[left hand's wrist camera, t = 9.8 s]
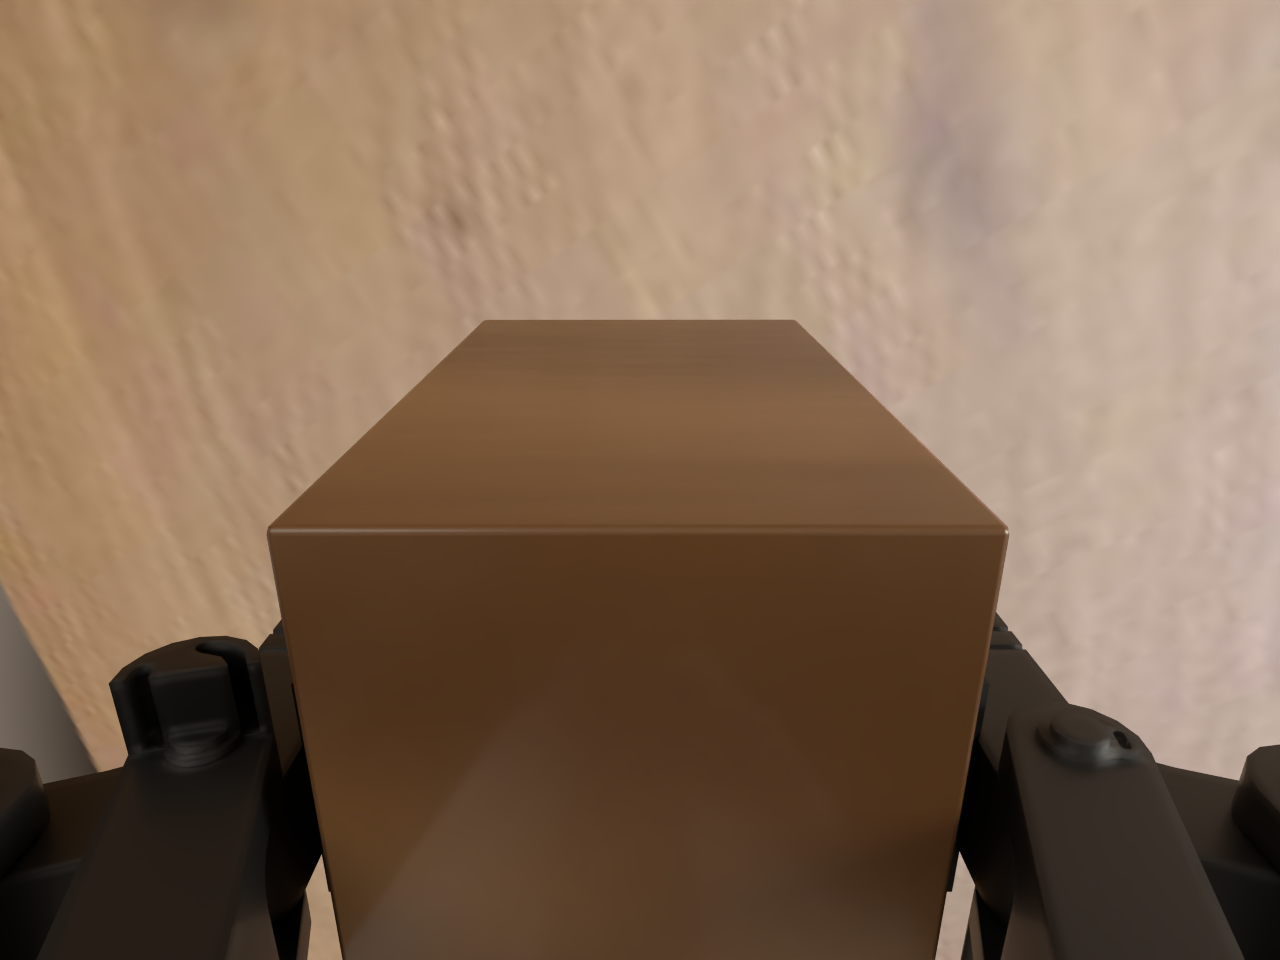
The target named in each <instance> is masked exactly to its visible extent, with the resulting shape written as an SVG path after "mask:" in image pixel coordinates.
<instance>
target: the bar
mask: <svg viewBox="0 0 1280 960" xmlns="http://www.w3.org/2000/svg"><path fill="white" fill-rule="evenodd" d="M267 539H268V545H269V551H270V556H271V562H272V567H273V573H274V579H275V584H276V590H277V595H278V601H279V606H280V612H281V618H282V623H283V629H284V634H285V640H286V646H287V651H288V657H289V662H290V668H291V674H292V679H293V685H294V690H295V696H296V701H297V707H298V713H299V718H300V724H301V729H302V735H303V741H304V746H305V752H306V757H307V763H308V769H309V774H310V780H311V785H312V791H313V797H314V802H315V808H316V813H317V819H318V824H319V830H320V836H321V841H322V847H323V852H324V858H325V864H326V869H327V875H328V880H329V886H330V892H331V897H332V903H333V908H334V914H335V919H336V925H337V931H338V936H339V942H340V947H341V953H342V959H343V960H935V956H936V951H937V945H938V939H939V933H940V928H941V922H942V916H943V911H944V905H945V899H946V893H947V888H948V882H949V876H950V870H951V865H952V859H953V853H954V848H955V842H956V836H957V830H958V825H959V819H960V813H961V808H962V802H963V796H964V790H965V785H966V779H967V773H968V767H969V762H970V756H971V750H972V745H973V739H974V733H975V727H976V722H977V716H978V710H979V705H980V699H981V693H982V687H983V682H984V676H985V670H986V665H987V659H988V653H989V647H990V642H991V636H992V630H993V624H994V619H995V613H996V607H997V602H998V596H999V590H1000V584H1001V579H1002V573H1003V567H1004V562H1005V556H1006V550H1007V544H1008V539H1009V530H1008V527H1007V526H1006V525H1005V524H1004V523H1003V522H1002V521H1001V520H1000V519H999V518H998V517H997V516H996V515H995V514H994V513H993V512H992V511H991V510H990V509H989V508H988V507H987V506H986V505H985V504H984V503H983V502H982V501H981V500H980V499H979V498H978V497H977V496H976V495H975V494H974V493H972V492H971V491H970V490H969V489H968V488H967V487H966V486H965V485H964V484H963V483H962V482H961V481H960V480H959V479H958V478H957V477H956V476H955V475H954V474H953V473H952V472H951V471H950V470H949V469H948V468H947V467H946V466H945V465H944V464H943V463H942V462H941V461H940V460H939V459H938V458H937V457H936V456H934V455H933V454H932V453H931V452H930V451H929V450H928V449H927V448H926V447H925V446H924V445H923V444H922V443H921V442H920V441H919V440H918V439H917V438H916V437H915V436H914V435H913V434H912V433H911V432H910V431H909V430H908V429H907V428H906V427H905V426H904V425H903V424H902V423H901V422H900V421H899V420H897V419H896V418H895V417H894V416H893V415H892V414H891V413H890V412H889V411H888V410H887V409H886V408H885V407H884V406H883V405H882V404H881V403H880V402H879V401H878V400H877V399H876V398H875V397H874V396H873V395H872V394H871V393H870V392H869V391H868V390H867V389H866V388H865V387H864V386H863V385H862V384H861V383H859V382H858V381H857V380H856V379H855V378H854V377H853V376H852V375H851V374H850V373H849V372H848V371H847V370H846V369H845V368H844V367H843V366H842V365H841V364H840V363H839V362H838V361H837V360H836V359H835V358H834V357H833V356H832V355H831V354H830V353H829V352H828V351H827V350H826V349H825V348H824V347H823V346H821V345H820V344H819V343H818V342H817V341H816V340H815V339H814V338H813V337H812V336H811V335H810V334H809V333H808V332H807V331H806V330H805V329H804V328H803V327H802V326H801V325H800V324H799V323H798V322H797V321H795V320H485V321H483V322H482V323H481V324H480V325H479V326H478V327H477V328H476V329H475V330H474V331H473V332H472V333H471V334H470V335H469V336H467V337H466V338H465V339H464V340H463V341H462V342H461V343H460V344H459V345H458V346H457V347H456V348H455V349H454V350H453V351H452V352H451V353H450V354H449V355H448V356H447V357H446V358H444V359H443V360H442V361H441V362H440V363H439V364H438V365H437V366H436V367H435V368H434V369H433V370H432V371H431V372H430V373H429V374H428V375H427V376H426V377H425V378H424V379H422V380H421V381H420V382H419V383H418V384H417V385H416V386H415V387H414V388H413V389H412V390H411V391H410V392H409V393H408V394H407V395H406V396H405V397H404V398H403V399H402V400H401V401H399V402H398V403H397V404H396V405H395V406H394V407H393V408H392V409H391V410H390V411H389V412H388V413H387V414H386V415H385V416H384V417H383V418H382V419H381V420H380V421H379V422H377V423H376V424H375V425H374V426H373V427H372V428H371V429H370V430H369V431H368V432H367V433H366V434H365V435H364V436H363V437H362V438H361V439H360V440H359V441H358V442H357V443H356V444H354V445H353V446H352V447H351V448H350V449H349V450H348V451H347V452H346V453H345V454H344V455H343V456H342V457H341V458H340V459H339V460H338V461H337V462H336V463H335V464H334V465H332V466H331V467H330V468H329V469H328V470H327V471H326V472H325V473H324V474H323V475H322V476H321V477H320V478H319V479H318V480H317V481H316V482H315V483H314V484H313V485H312V486H311V487H309V488H308V489H307V490H306V491H305V492H304V493H303V494H302V495H301V496H300V497H299V498H298V499H297V500H296V501H295V502H294V503H293V504H292V505H291V506H290V507H289V508H287V509H286V510H285V511H284V512H283V513H282V514H281V515H280V516H279V517H278V518H277V519H276V520H275V521H274V522H273V523H272V524H271V525H270V526H269V527H268V530H267Z"/></svg>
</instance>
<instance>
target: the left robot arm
mask: <svg viewBox="0 0 1280 960" xmlns="http://www.w3.org/2000/svg"><path fill="white" fill-rule="evenodd" d="M109 686H110V690H111V693H112V697H113V701H114V704H115V708H116V711H117V715H118V719H119V722H120V726H121V729H122V733H123V737H124V740H125V744H126V747H127V751H128V757H127V759H126V761H125V764H124V766H123V767H120V768H116V769H112V770H109V771H104V772H99V773H94V774H90V775H85V776H80V777H75V778H70V779H66V780H61V781H56V782H51V783H46V784H43V783H42V780H41V777H40V774H39V772H38V768H37V765H36V762H35V760H34V759H33V758H31V757H30V756H29V755H27V754H26V753H25V752H23V751H21V750H13V749H5V748H0V960H307V956H308V947H309V938H310V929H311V918H310V911H309V905H308V900H307V894H306V887H307V885H308V882H309V880H310V878H311V876H312V874H313V872H314V869H315V867H316V865H317V863H318V861H319V859H320V856H321V854H322V857H323V863H324V868H325V874H326V879H327V885H328V890H329V892H330V886H329V880H328V875H327V869H326V864H325V858H324V852H323V847H322V841H321V836H320V830H319V824H318V819H317V813H316V808H315V802H314V797H313V791H312V785H311V780H310V774H309V769H308V763H307V757H306V752H305V746H304V741H303V735H302V729H301V724H300V718H299V713H298V707H297V701H296V696H295V690H294V685H293V679H292V674H291V668H290V662H289V657H288V651H287V646H286V640H285V634H284V629H283V623H282V619H281V621H280V622H279V623H278V625H277V626H276V627H275V628H274V630H273V634H270V635H269V636H268V637H267V639H266V640H265V641H264V642H263V644H262V645H261V646H260V647H259V649H258V648H256V647H255V646H254V645H252V644H251V643H250V642H248V641H247V640H243V639H239V638H234V637H229V636H213V637H198V638H194V639H189V640H185V641H180V642H175V643H172V644H169V645H166V646H164V647H161V648H159V649H156V650H154V651H151V652H149V653H146V654H144V655H143V656H141V657H139V658H138V659H136V660H135V661H133V662H131V663H130V664H128V665H127V666H125V667H123V668H122V669H121V670H120V672H119V673H118V674H117V675H116V676H115V677H114V678H113V679H112V681H111V682H110V683H109ZM959 851H960V853H961V855H962V858H963V860H964V862H965V864H966V866H967V868H968V870H969V873H970V875H971V877H972V879H973V881H974V883H975V889H974V894H973V900H972V905H971V910H970V915H969V920H968V925H967V930H966V935H965V940H964V945H963V951H962V956H961V960H1280V745H1273V746H1265V747H1259V748H1258V749H1257V750H1255V751H1254V752H1253V753H1251V754H1250V755H1248V756H1247V759H1246V762H1245V765H1244V768H1243V771H1242V774H1241V777H1240V780H1239V781H1237V780H1233V779H1228V778H1223V777H1218V776H1213V775H1208V774H1203V773H1199V772H1194V771H1189V770H1184V769H1179V768H1174V767H1171V766H1167V765H1163V764H1159V763H1156V762H1155V760H1154V758H1153V755H1152V753H1151V752H1150V751H1149V749H1148V748H1147V747H1146V746H1145V744H1144V743H1143V742H1142V740H1141V739H1140V738H1139V736H1137V735H1136V734H1135V733H1133V732H1132V731H1130V730H1129V729H1128V728H1126V727H1125V726H1124V725H1122V724H1121V723H1119V722H1118V721H1116V720H1114V719H1112V718H1110V717H1107V716H1105V715H1103V714H1101V713H1098V712H1096V711H1094V710H1092V709H1088V708H1084V707H1080V706H1076V705H1072V704H1069V703H1068V702H1067V701H1066V700H1065V698H1064V697H1063V696H1062V695H1061V693H1060V692H1059V691H1058V690H1057V688H1056V687H1055V686H1054V685H1053V683H1052V682H1051V681H1050V679H1049V678H1048V677H1047V676H1046V674H1045V673H1044V672H1043V671H1042V669H1041V668H1040V667H1039V666H1038V664H1037V663H1036V662H1035V661H1034V659H1033V658H1032V657H1031V656H1030V654H1029V653H1028V652H1027V651H1026V650H1023V649H1022V644H1021V643H1020V642H1019V640H1018V639H1017V638H1016V637H1015V635H1014V634H1013V633H1012V632H1011V631H1008V627H1007V625H1006V624H1005V623H1004V622H1003V620H1002V619H1001V618H1000V617H999V615H998V614H997V613H995V619H994V624H993V630H992V636H991V642H990V647H989V653H988V659H987V665H986V670H985V676H984V682H983V687H982V693H981V699H980V705H979V710H978V716H977V722H976V727H975V733H974V739H973V745H972V750H971V756H970V762H969V767H968V773H967V779H966V785H965V790H964V796H963V802H962V808H961V813H960V819H959V825H958V830H957V836H956V842H955V848H954V853H953V859H952V865H951V870H950V876H949V882H948V888H947V892H952V888H953V883H954V877H955V872H956V866H957V861H958V855H959Z"/></svg>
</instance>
